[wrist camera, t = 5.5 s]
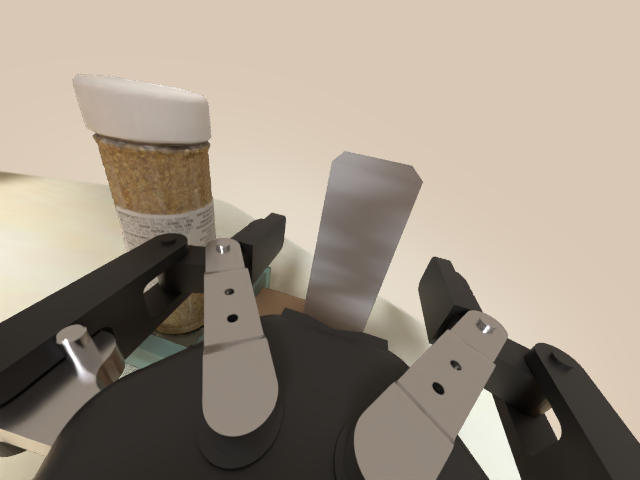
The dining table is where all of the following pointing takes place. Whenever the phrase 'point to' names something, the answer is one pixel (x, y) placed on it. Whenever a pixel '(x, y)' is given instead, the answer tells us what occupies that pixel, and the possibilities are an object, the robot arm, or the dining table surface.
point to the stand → (337, 249)
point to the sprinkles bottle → (154, 166)
